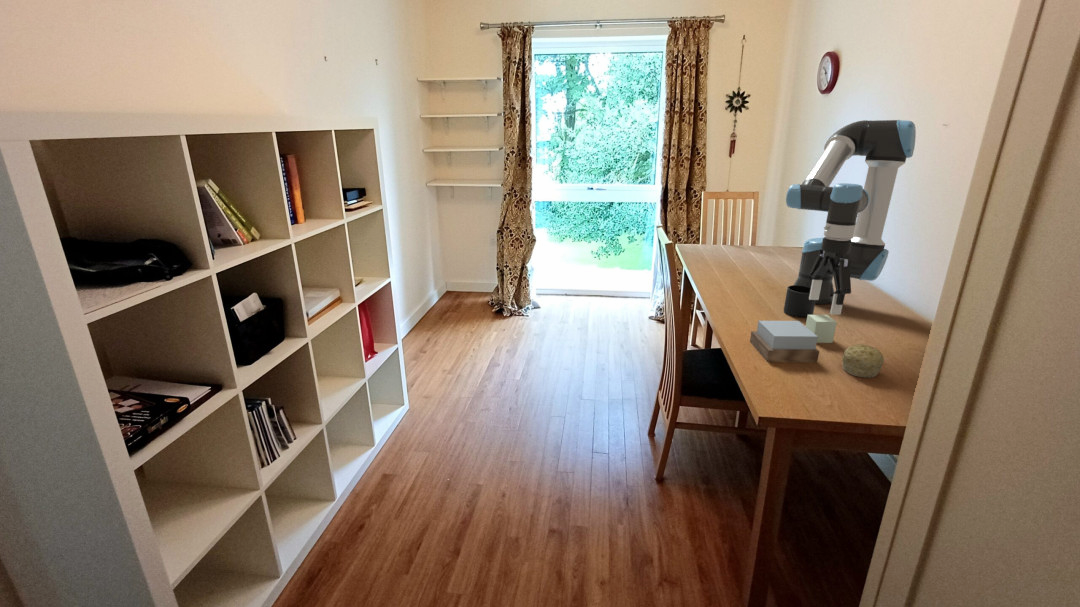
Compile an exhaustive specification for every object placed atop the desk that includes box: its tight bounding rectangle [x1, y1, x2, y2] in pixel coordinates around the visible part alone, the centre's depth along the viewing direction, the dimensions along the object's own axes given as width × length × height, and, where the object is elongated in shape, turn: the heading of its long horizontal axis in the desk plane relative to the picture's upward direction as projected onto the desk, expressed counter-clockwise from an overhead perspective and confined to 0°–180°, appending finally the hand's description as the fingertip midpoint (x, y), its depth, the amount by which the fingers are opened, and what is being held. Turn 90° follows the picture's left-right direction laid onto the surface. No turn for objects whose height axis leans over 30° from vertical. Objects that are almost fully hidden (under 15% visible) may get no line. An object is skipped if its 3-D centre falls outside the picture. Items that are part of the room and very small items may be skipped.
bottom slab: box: [749, 330, 820, 363], centre depth 150 cm, size 14×14×4 cm
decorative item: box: [842, 344, 885, 378], centre depth 138 cm, size 10×10×10 cm
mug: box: [783, 284, 816, 319], centre depth 180 cm, size 9×12×9 cm
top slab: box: [756, 320, 818, 350], centre depth 149 cm, size 12×12×4 cm
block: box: [804, 314, 838, 344], centre depth 158 cm, size 6×6×7 cm
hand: (823, 306), depth 156 cm, fingers open, 13 cm apart
